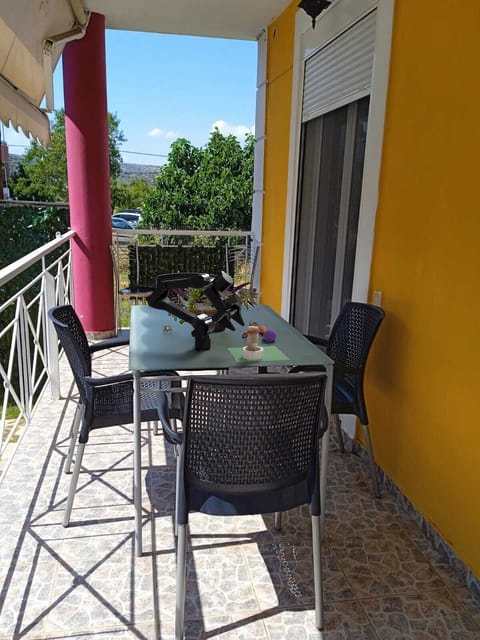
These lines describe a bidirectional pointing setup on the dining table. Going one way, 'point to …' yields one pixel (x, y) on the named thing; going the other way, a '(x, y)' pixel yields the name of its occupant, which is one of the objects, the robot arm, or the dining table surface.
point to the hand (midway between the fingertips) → (239, 328)
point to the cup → (252, 354)
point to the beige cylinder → (252, 338)
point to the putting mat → (269, 354)
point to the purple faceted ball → (268, 334)
